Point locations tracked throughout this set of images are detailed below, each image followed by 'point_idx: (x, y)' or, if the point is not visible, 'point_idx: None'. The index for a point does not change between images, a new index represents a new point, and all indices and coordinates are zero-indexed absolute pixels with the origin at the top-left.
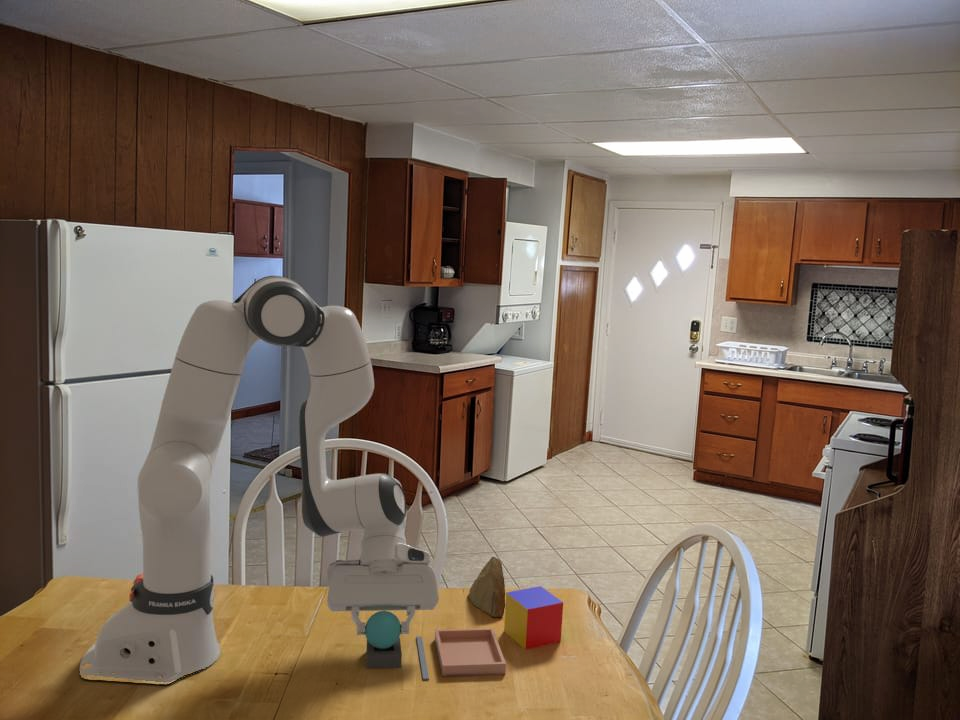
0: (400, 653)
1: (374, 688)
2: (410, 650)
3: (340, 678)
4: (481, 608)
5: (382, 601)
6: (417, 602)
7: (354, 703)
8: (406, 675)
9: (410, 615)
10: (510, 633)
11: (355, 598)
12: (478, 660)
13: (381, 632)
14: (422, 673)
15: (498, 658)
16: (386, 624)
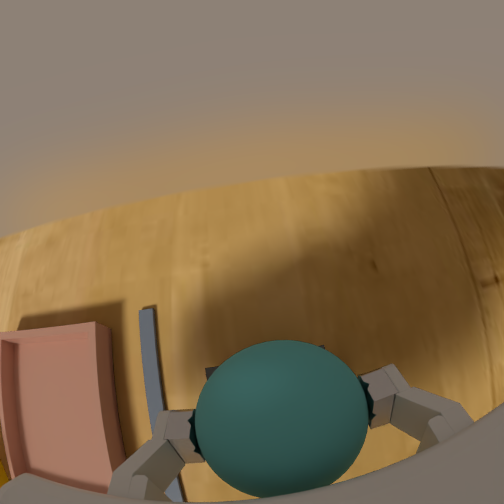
0: (209, 371)
1: (275, 257)
2: (199, 467)
3: (374, 288)
4: None
5: (303, 502)
6: (82, 493)
7: (306, 197)
8: (197, 330)
9: (138, 460)
10: (4, 479)
11: (487, 446)
12: (40, 388)
13: (277, 341)
14: (153, 332)
15: (9, 379)
16: (253, 360)
